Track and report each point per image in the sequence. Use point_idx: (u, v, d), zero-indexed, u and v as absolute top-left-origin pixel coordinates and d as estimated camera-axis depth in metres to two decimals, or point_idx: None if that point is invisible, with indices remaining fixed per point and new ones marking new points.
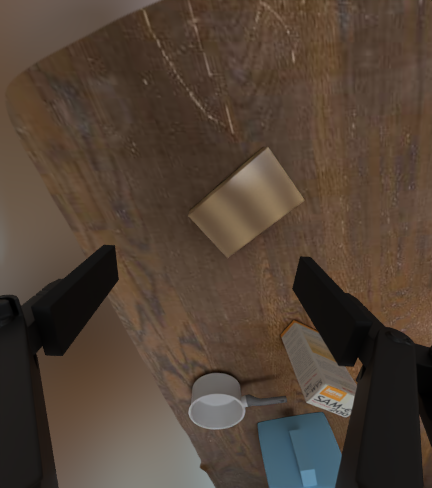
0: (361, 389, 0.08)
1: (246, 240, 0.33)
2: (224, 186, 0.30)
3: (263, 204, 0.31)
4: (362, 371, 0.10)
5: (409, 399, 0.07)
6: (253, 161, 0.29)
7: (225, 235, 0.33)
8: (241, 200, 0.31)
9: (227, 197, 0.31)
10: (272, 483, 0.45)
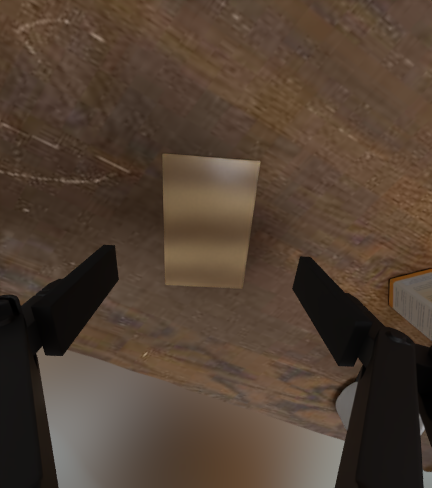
0: (361, 389, 0.08)
1: (242, 257, 0.24)
2: (166, 231, 0.23)
3: (220, 209, 0.22)
4: (362, 371, 0.10)
5: (409, 399, 0.07)
6: (165, 182, 0.21)
7: (217, 271, 0.25)
8: (195, 227, 0.23)
9: (179, 238, 0.23)
10: None
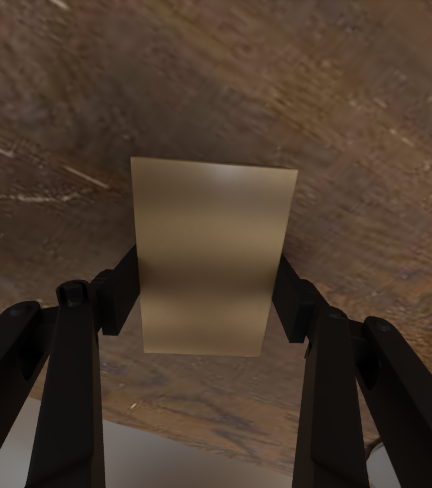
0: (309, 366, 0.09)
1: (262, 315, 0.16)
2: (142, 279, 0.14)
3: (229, 247, 0.14)
4: (309, 348, 0.11)
5: (347, 368, 0.07)
6: (137, 204, 0.12)
7: (222, 334, 0.16)
8: (189, 273, 0.14)
9: (163, 289, 0.15)
10: None
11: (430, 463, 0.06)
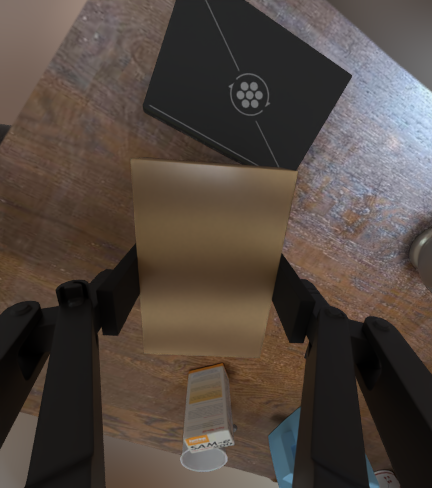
0: (309, 366, 0.09)
1: (262, 316, 0.16)
2: (142, 280, 0.14)
3: (229, 248, 0.14)
4: (309, 348, 0.11)
5: (347, 368, 0.07)
6: (137, 205, 0.12)
7: (222, 335, 0.16)
8: (189, 274, 0.14)
9: (163, 290, 0.15)
10: None
11: (430, 463, 0.06)
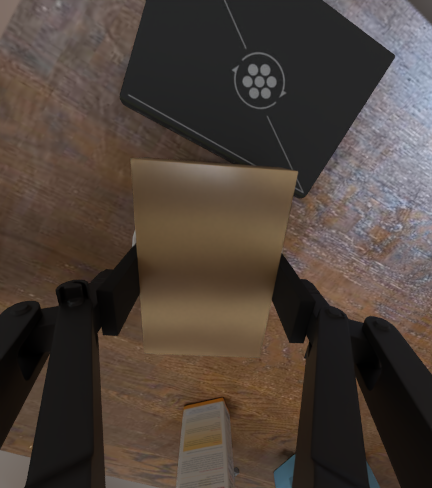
0: (309, 366, 0.09)
1: (262, 316, 0.16)
2: (142, 280, 0.14)
3: (229, 248, 0.14)
4: (309, 348, 0.11)
5: (347, 368, 0.07)
6: (137, 205, 0.12)
7: (222, 335, 0.16)
8: (189, 274, 0.14)
9: (163, 290, 0.15)
10: None
11: (430, 463, 0.06)
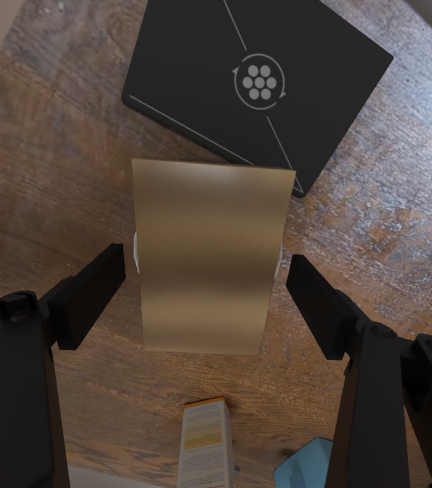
0: (349, 383, 0.08)
1: (261, 314, 0.16)
2: (143, 278, 0.15)
3: (228, 246, 0.14)
4: (349, 365, 0.10)
5: (394, 390, 0.07)
6: (138, 204, 0.13)
7: (221, 333, 0.16)
8: (189, 272, 0.14)
9: (163, 287, 0.15)
10: None
11: None
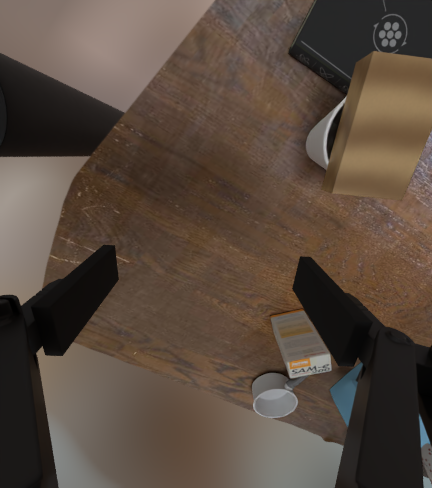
0: (361, 389, 0.08)
1: (412, 165, 0.26)
2: (351, 134, 0.24)
3: (408, 112, 0.24)
4: (362, 371, 0.10)
5: (409, 399, 0.07)
6: (367, 81, 0.23)
7: (384, 180, 0.26)
8: (380, 130, 0.24)
9: (361, 142, 0.25)
10: None
11: None
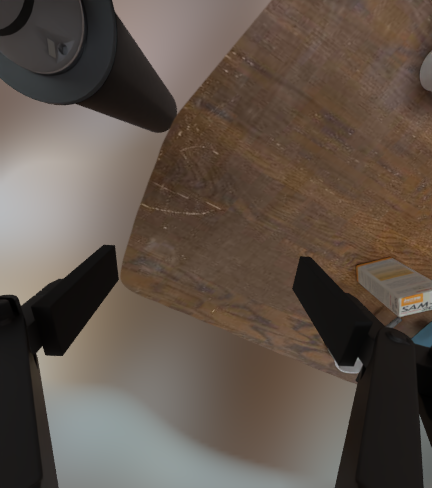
0: (361, 389, 0.08)
1: None
2: None
3: None
4: (362, 371, 0.10)
5: (409, 399, 0.07)
6: None
7: None
8: None
9: None
10: None
11: None
